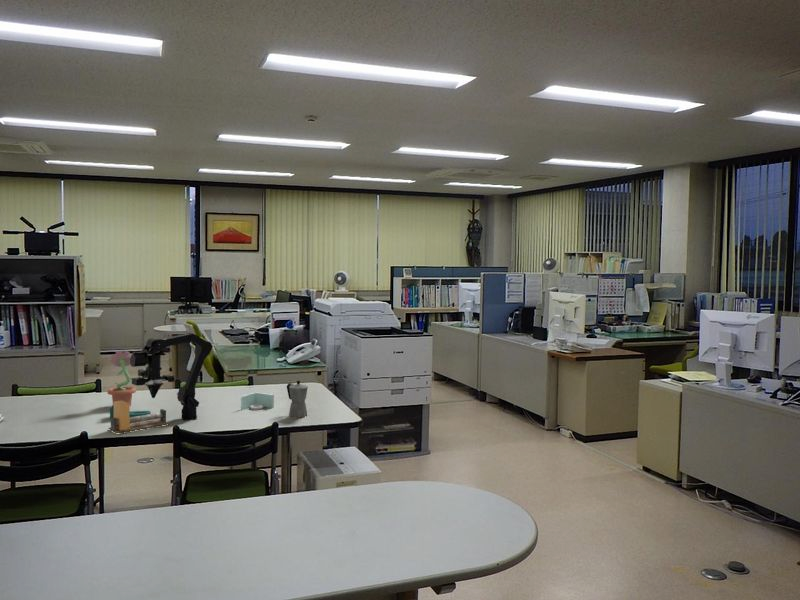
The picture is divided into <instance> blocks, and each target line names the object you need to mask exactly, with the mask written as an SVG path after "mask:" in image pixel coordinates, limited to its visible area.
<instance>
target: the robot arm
mask: <svg viewBox="0 0 800 600" xmlns="http://www.w3.org/2000/svg"><path fill="white" fill-rule="evenodd" d="M184 343H185V344H186V343H191V344H192V345H193V346H194V359H193V362H192V364H191V367H190V370H189V373H188V375H187V378H186V381H185V384H184V385H183V386H179V388H178V392H177V393H176V395H177V398H176V399H177V401H178V402H180V405H182V408H181V419H183V420H182V421H186V420H188V421H189V420H197V418H198V414H197V413H198V412H197V411H198V409H197V408H198V407H199V405H200V401H198V400H197V399H196V398H195V397H196V385H197V382H198V381H199V380H198V379H199V377H200V374H201V372H202V371H201V370H202V368H203V365H204V363H205V360H206V359H207V357H208V356H209V355H210V354H211V352H212V350H213V344H212V343H211V342H210V341H208V340H205V339H204V338H201V337H200V336H199V335H197V334H196V333H194V332H188V333H184V334H178V335H173V336H169V337H150V338H148V339H147V341H146V343H145V346H144V347H143V348H142V350H141V351H132V353H131V354H130V355H131V356H130V366H131V367H132V368H135V367H145V369H143V368H141V369H140V368H139V369H138V370H137V376H138V377H132V378H133V379H132V380H131V384H132V385H134V386H138V387H139V386H146V387H147V388H148V391H149V393H150V396H151V398H152V399H155V397H156V396H157V394H158V392H159V390H160V388H161V387H162V386H163V385H164V382H163V381H167V382H168V383H175V382H176V377H175V376H174V375H173V374H162V375H161V370H162V369H163V368H162V367H161V364H162V363H161V362H162V356H166V353H165V352H164V351H163V350H165V349H167V348H168V347H172V346H176V345H181V344H184Z"/></svg>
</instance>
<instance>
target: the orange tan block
mask: <svg viewBox="0 0 800 600" xmlns="http://www.w3.org/2000/svg"><path fill="white" fill-rule="evenodd" d="M112 405H113V406H114V418H116V419H117V420H119V426H117V429H119V430H120V431H121V430H127V429H130V416H129V412H130V406H129V403H127V402H125V401H115V402H113V401H112Z"/></svg>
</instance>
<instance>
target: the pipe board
mask: <svg viewBox="0 0 800 600" xmlns="http://www.w3.org/2000/svg"><path fill="white" fill-rule="evenodd" d="M167 424H169V425H170V423H169V422H167V410H166V409H164V408H160V410H159V412H155V413H151V414H148V415H142V416H136V417H130V429H127V430H121V431H120V430H119V429H117V426H119V420H117V419H116V418H114V417H112V418H111V420H110V427H108V429H110V430H111V431H113V432H115V433H124V432H129V433H131V432H130V431H135V430H140V429H145V430H148V429H147V428H151V429H153V428H152V427H156V426H161V427H163V426H162V425H167ZM167 426H168V425H167ZM156 428H157V427H156ZM108 429H107V430H108ZM111 431H110V432H111ZM140 431H141V430H140ZM113 432H112V433H113ZM135 432H136V431H135ZM115 433H114V434H115ZM124 434H125V433H124Z"/></svg>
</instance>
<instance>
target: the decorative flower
mask: <svg viewBox="0 0 800 600" xmlns="http://www.w3.org/2000/svg"><path fill="white" fill-rule="evenodd" d="M129 355H131V352H130V351H126V350H125V351H123V350H117V351H116V352H115V354H114V353H113V354H111V357H110V360H109V362H110V363H111V364H112V365H113V366H115V367H118V368H121V370H120V371H118V372H117V375H116V376H120V375H122V374H124V375H125V376H124V377H125V378H126V381H123V382H120V383H118V382H117V383H115V382H114V384H115V385H116V386H115V387H110V388H109V389H108V390H107V394H108V395H109V396H110V395H111V398H112V399H111V401H112V403H113V402H115V401H125V402H127V403H129V407H131V406H132V400H133V394H135V393H137V388H136V387H135V386H127V385H128V384H129V383H131V381H132V379H133V378H134V377H131V376H130V374H129V372H128V370H127V366H131V364H130V358H131V356H129Z"/></svg>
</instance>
